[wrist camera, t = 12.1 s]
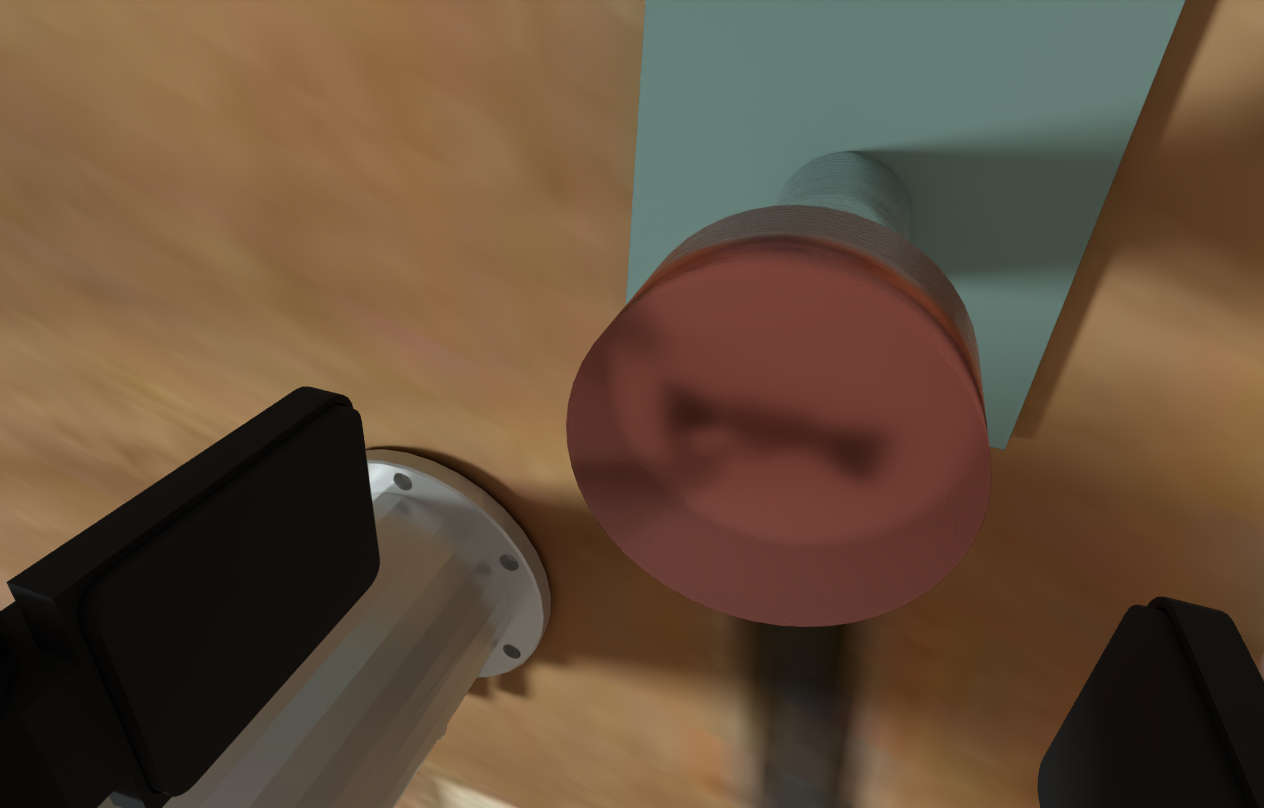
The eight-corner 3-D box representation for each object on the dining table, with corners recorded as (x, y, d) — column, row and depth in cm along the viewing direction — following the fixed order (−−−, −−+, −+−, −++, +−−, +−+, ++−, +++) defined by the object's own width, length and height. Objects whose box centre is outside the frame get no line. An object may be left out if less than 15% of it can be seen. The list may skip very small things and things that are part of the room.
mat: (1002, 435, 23) (1004, 449, 22) (629, 354, 26) (622, 364, 25) (1181, -16, 16) (1190, -15, 16) (659, -57, 19) (649, -57, 19)
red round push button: (993, 119, 18) (1064, 326, 8) (925, 339, 21) (921, 671, 12) (748, 88, 19) (568, 236, 10) (719, 299, 23) (565, 566, 13)
